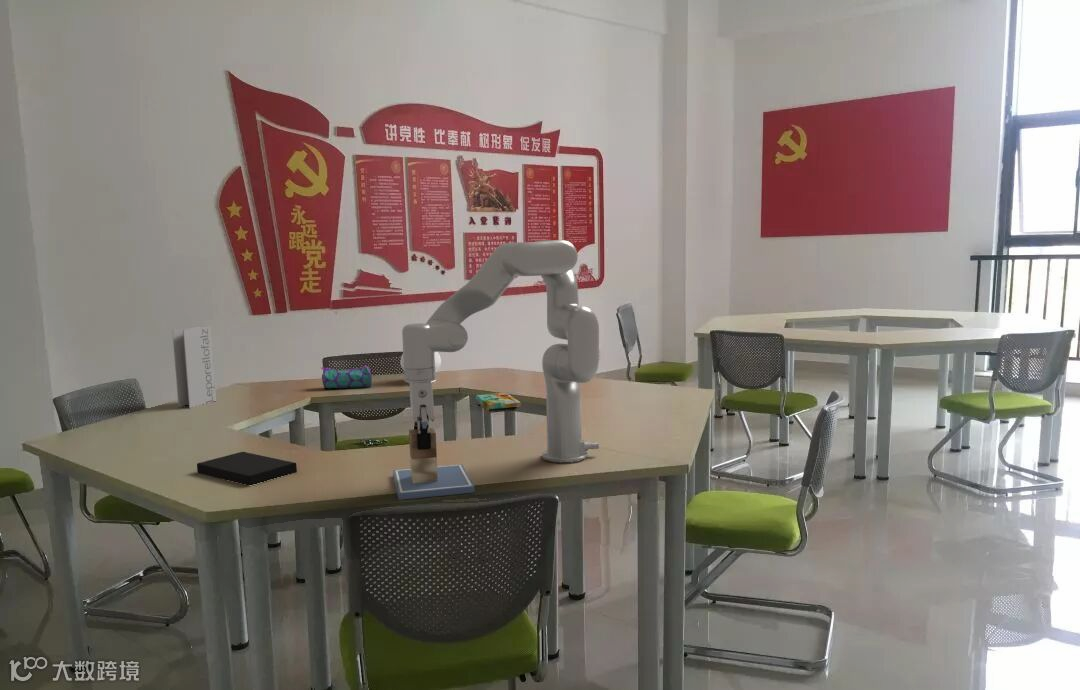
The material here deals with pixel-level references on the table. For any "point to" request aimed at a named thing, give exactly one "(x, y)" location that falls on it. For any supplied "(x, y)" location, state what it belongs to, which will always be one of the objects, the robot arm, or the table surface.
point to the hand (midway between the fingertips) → (422, 444)
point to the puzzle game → (498, 402)
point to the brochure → (194, 366)
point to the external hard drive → (246, 468)
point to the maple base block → (423, 470)
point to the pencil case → (347, 378)
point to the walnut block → (426, 452)
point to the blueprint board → (434, 483)
